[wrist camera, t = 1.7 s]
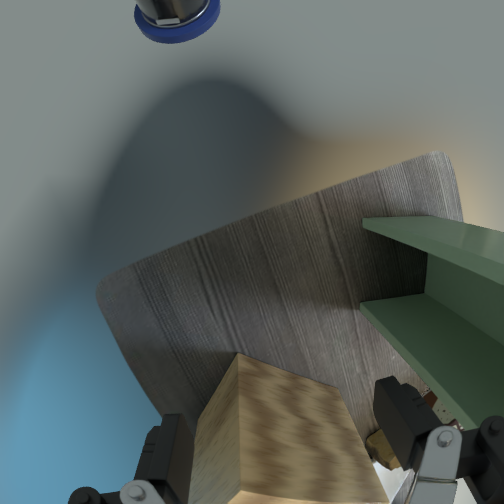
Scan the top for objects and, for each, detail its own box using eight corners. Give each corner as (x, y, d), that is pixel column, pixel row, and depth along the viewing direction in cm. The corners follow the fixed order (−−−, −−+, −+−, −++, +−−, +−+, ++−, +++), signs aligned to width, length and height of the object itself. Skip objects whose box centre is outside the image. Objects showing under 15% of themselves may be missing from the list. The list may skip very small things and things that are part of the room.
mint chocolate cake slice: (422, 417, 44) (446, 451, 34) (414, 401, 42) (440, 437, 33) (471, 376, 42) (501, 404, 33) (467, 357, 41) (499, 385, 31)
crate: (197, 419, 40) (182, 540, 20) (237, 352, 38) (240, 490, 17) (289, 446, 43) (310, 554, 22) (337, 387, 40) (390, 502, 19)
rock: (424, 400, 40) (373, 427, 38) (442, 441, 34) (392, 472, 33) (401, 413, 48) (357, 435, 46) (417, 448, 42) (372, 472, 41)
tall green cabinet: (355, 310, 38) (515, 506, 6) (358, 218, 35) (621, 320, 4) (429, 299, 38) (595, 425, 7) (436, 215, 36) (651, 280, 4)
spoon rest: (354, 453, 44) (365, 481, 37) (410, 434, 44) (425, 458, 37) (346, 506, 49) (353, 528, 42) (391, 492, 49) (401, 512, 42)
